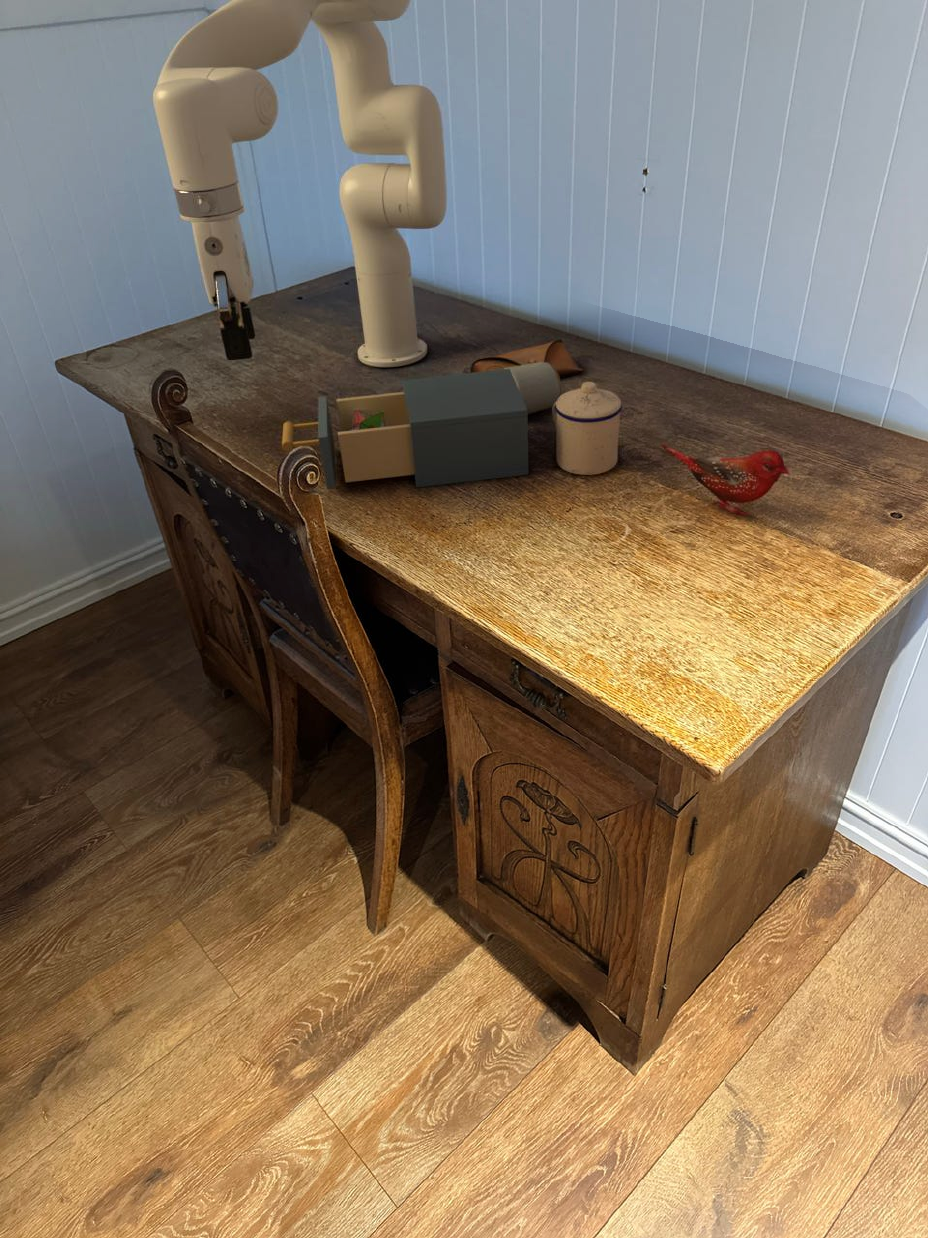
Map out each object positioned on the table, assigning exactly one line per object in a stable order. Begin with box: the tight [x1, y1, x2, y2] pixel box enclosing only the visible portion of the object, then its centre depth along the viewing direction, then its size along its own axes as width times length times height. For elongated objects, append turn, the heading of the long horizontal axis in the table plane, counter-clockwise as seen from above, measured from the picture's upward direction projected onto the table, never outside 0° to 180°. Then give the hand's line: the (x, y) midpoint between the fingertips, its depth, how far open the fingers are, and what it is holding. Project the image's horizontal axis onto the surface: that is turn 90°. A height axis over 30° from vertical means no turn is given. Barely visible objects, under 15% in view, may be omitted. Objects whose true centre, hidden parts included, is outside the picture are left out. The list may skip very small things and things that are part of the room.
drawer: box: [281, 391, 415, 490], centre depth 127 cm, size 20×13×8 cm, turn 97°
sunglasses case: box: [470, 339, 584, 379], centre depth 152 cm, size 18×7×7 cm
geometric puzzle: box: [343, 409, 388, 431], centre depth 127 cm, size 7×7×8 cm
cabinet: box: [401, 369, 529, 488], centre depth 128 cm, size 16×14×10 cm
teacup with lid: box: [551, 381, 623, 476], centre depth 126 cm, size 12×9×12 cm
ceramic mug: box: [504, 362, 562, 415], centre depth 141 cm, size 11×8×8 cm
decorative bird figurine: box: [661, 444, 790, 517], centre depth 114 cm, size 3×18×10 cm, turn 47°
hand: (241, 347), depth 117 cm, fingers open, 6 cm apart
